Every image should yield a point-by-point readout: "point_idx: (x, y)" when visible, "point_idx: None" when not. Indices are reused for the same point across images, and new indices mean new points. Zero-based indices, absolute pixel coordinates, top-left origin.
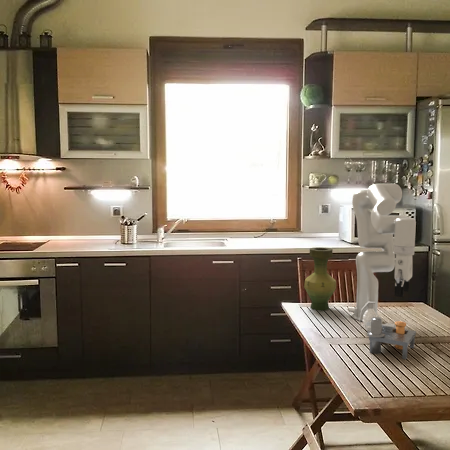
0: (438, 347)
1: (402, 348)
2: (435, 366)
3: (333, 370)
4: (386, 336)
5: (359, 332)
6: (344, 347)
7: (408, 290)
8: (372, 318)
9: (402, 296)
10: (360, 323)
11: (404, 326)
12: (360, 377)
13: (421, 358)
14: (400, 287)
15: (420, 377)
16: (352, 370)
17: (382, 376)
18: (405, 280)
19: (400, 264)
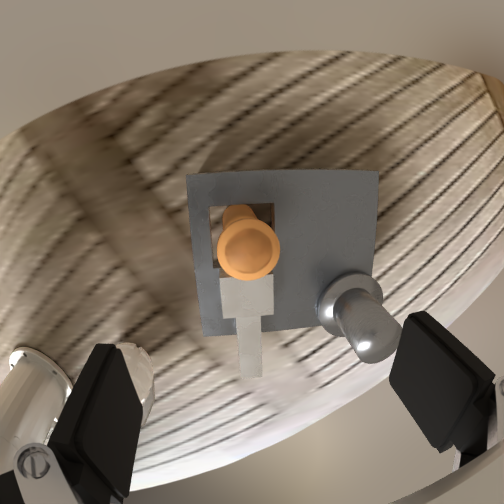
0: (144, 98)
1: (247, 206)
2: (352, 77)
3: (465, 303)
4: (343, 266)
5: (167, 370)
6: (329, 355)
7: (109, 350)
8: (381, 356)
9: (423, 317)
10: (153, 390)
11: (262, 222)
12: (481, 245)
13: (306, 124)
14: (491, 390)
15: (442, 117)
16: (459, 273)
17: (468, 205)
18: (92, 487)
19: None
